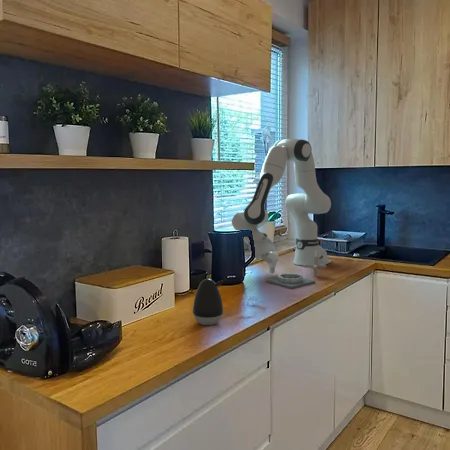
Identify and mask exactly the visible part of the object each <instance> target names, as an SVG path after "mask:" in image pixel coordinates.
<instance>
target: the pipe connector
mask: <svg viewBox="0 0 450 450" xmlns="http://www.w3.org/2000/svg"><path fill="white" fill-rule="evenodd" d="M304 268H310V269H313V277H315V278H317V277H318V269H327V264H325V265H324V264H318V256H314V264H305V266H304Z"/></svg>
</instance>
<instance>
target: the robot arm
mask: <svg viewBox="0 0 450 450" xmlns="http://www.w3.org/2000/svg"><path fill="white" fill-rule="evenodd" d="M312 150H313V149H312V146H311V143H310V142H309V141H308V140H305V139H302V138H301V139H297V138H287V139H284V138H281V139H278V140H276V141H275V142H274V143H273V146H271V147H270V148H269V150H268V153H267V155H266V156H265V159H264V161H263V164H262V168H261V171H260V177H259V181H258V183H257V187H256V189H255V192H254V195H253V197H252V200H251V201H250V202H249V204H248V205H247V206H246V207H245V209H244V210H243V211H238V212H236V214H235V215H234V216H233V217H232V219H231V225H232V227H233V228H234V230H235V231H236V230H242V229H249V230H251V231H252V234H253V240H254V247H255V257H254V258H255V259H256V260H259V259H262V260H263V261H265V262H266V263H267V264H268V265H269V263H271V262H272V261H271V259H269V258H268V257H267V256H266V255H267V253H269V252H271V251H274V252H276V251H277V247H276V245H275V244H274V242H273V241H272V240H271V239H270V238H269V235H268V234H267V233H265V232H261V231H260V229H259V228H261V227H263V226H264V225H266V224H267V222H268V221H269V217H270V216H269V212H268V211H267V210H266V209H265V208H266V207H265V205H266V202H267V200H268V196H269V194H270V191H271V189H272V188H273V186H275V185H278V184H279V183H280V181H281V180H282V178H283V176H284V173H285V170H286V167H287V162H288V161H289V162H291V161H292V162H293V172H294V181H295V185H296V186H297V187H298V188H300V189H301V190H302V191H304V193H301V192H298V193H292V194H291V193H290V194H289V195H287V197H285V208H286V210H287V211H288V212H289V213H290V214H291V215H292V216H293V218H294V221H295V223H296V237H295V238H296V239H295V244H296V246H295V251H294V259H292V260H293V264H294V265H297V266H303V267H305V264H314V256H318V264H324V265H327V264H331V263H332V260H331V259H329V258H328V253H327V250H325V249H324V248H323V247H322V246H321V245H320V243H323V239H322V238H318V225H317V223H316V222H315V220H312V219H311V218H310V216H309V215H310V214H311V215H320V214H321V215H323V214H327V213H328V212H329V211H330V210H331V207H332V202H331V198H330V197H329V196H328V195H327V194H326V193H324V192H323V190H322V189H321V188H320V185H319V184H318V182H317V181H318V180H317V176H316V167H315V159H314V156H313V155H314V154H313V152H312ZM243 241H244V242H245V243H246V244H247V247H248V251H249V252H250V254H252V251H251V245H250V240H249V238H248V237H245V238H244V239H243Z"/></svg>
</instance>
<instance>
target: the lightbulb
mask: <svg viewBox="0 0 450 450" xmlns="http://www.w3.org/2000/svg"><path fill="white" fill-rule="evenodd" d="M266 256H267V257H268V258H269V259H271V261H272V262H271V263H269V264H268V268H269V272H268V273H270V274H271V275H272V274H274V273H275V272H276V271H275V270H276V269H275V268H276V266H277V263H278V262H279V260H280V256H279V254H278V252H276V251H271V252H269V253H267V255H266Z"/></svg>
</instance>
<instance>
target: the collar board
mask: <svg viewBox="0 0 450 450" xmlns="http://www.w3.org/2000/svg"><path fill="white" fill-rule="evenodd" d="M265 282H266V283H269V284H272V285H276V286H279V287H284V288H285V289H286V288H287V289H290V290H291V289H292V290H293V289H296V288H301V287H305V286H308V285H313V284H316V280H313V279H307V278H305V277H303V274H298V273H281V274H278V275H277V277H273V278H268V279H265Z"/></svg>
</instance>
